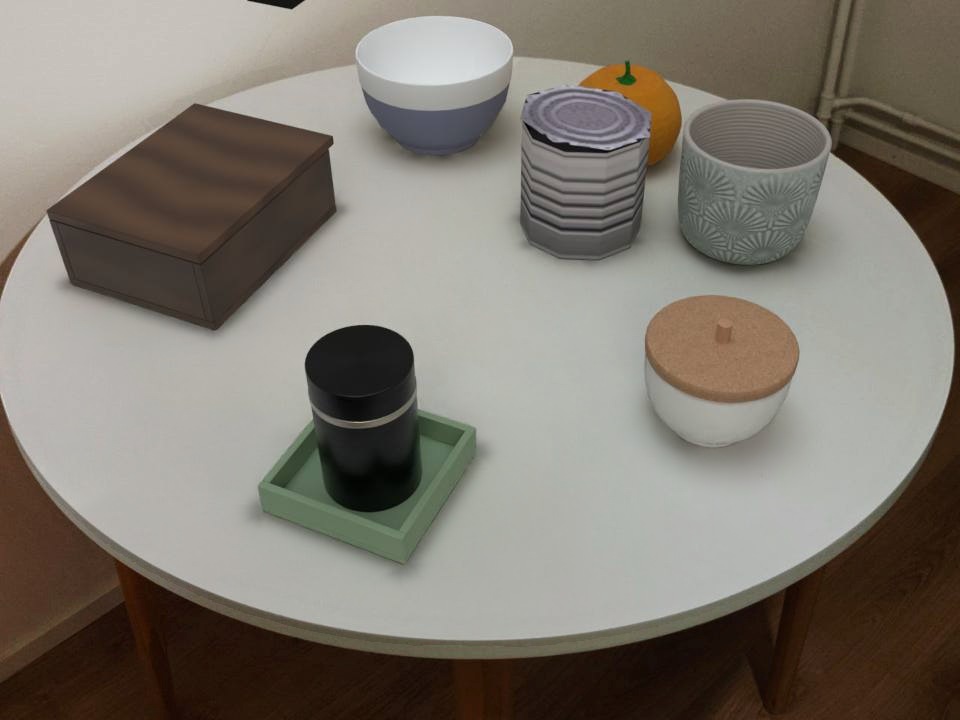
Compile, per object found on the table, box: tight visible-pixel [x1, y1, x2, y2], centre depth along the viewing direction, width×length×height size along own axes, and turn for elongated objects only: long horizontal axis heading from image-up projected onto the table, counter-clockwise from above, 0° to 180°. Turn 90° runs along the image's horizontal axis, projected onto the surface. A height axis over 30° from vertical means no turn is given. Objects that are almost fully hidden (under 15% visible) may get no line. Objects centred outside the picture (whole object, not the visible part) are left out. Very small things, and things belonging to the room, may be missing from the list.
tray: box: [257, 408, 477, 565], centre depth 74 cm, size 11×11×3 cm
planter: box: [677, 98, 833, 266], centre depth 93 cm, size 12×12×11 cm
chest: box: [48, 148, 337, 331], centre depth 95 cm, size 20×16×7 cm
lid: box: [45, 102, 335, 264], centre depth 93 cm, size 20×16×1 cm
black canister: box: [304, 324, 422, 512], centre depth 71 cm, size 7×7×11 cm
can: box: [519, 84, 651, 261], centre depth 95 cm, size 11×11×12 cm
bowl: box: [354, 15, 515, 156], centre depth 109 cm, size 16×16×10 cm
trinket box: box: [643, 294, 800, 448], centre depth 76 cm, size 11×11×9 cm
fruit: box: [577, 60, 683, 167], centre depth 105 cm, size 12×12×10 cm
